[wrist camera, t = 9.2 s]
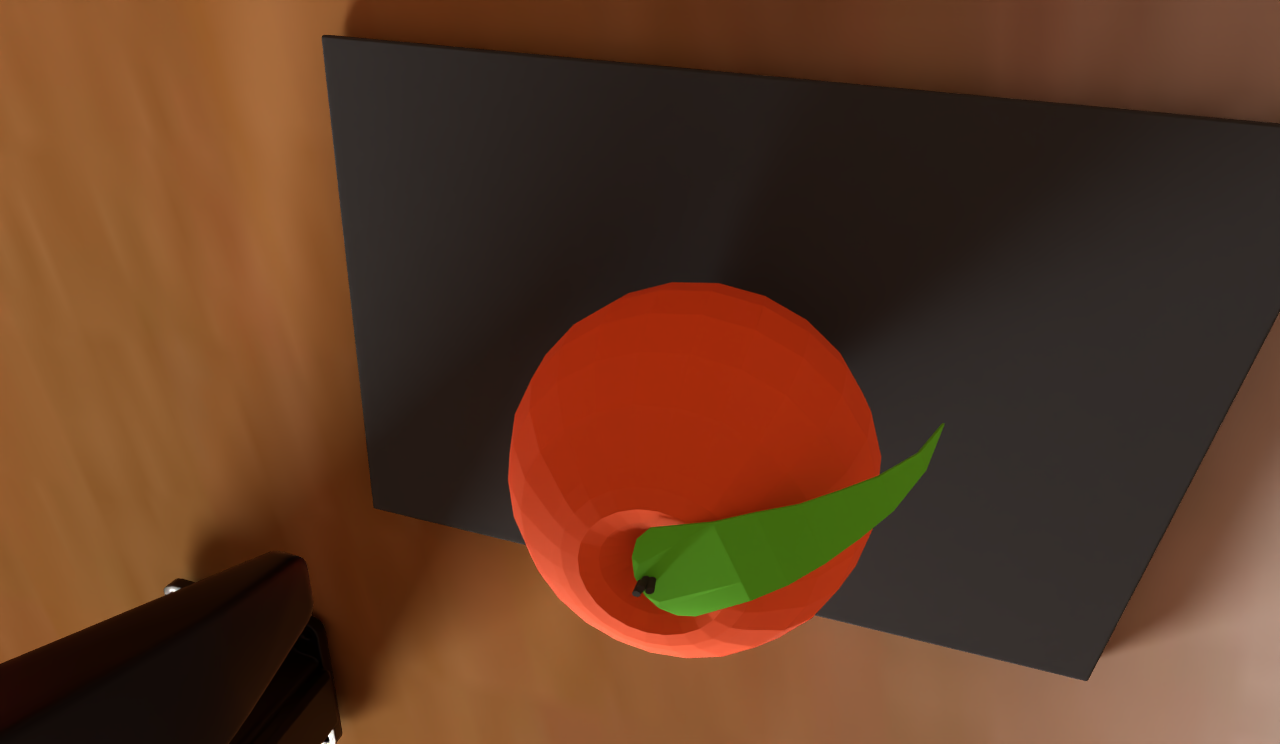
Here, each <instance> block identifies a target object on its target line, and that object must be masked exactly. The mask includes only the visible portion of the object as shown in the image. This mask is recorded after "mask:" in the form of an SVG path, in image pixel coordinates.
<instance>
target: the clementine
mask: <svg viewBox="0 0 1280 744" xmlns="http://www.w3.org/2000/svg"><path fill="white" fill-rule="evenodd" d="M944 424H945V423H942V424H941V425H940V426H939V428H938V429H937V430H936V431H935V432H934V434H933V435H932V436H931V437H930V438H929V439H928V441H927V442H926V443H925V444H924V445H923V447H922V448H921V449H920V450H919V451H918V453H916V454H914V455H913V456H911V457H909V458H907V459H906V460H904V461H902V462H901V463H899V464H897V465H895V466H894V467H892V468H890V469H889V470H887V471H885V472H883V473H882V474H880V465H881V453H880V449H879V444H878V440H877V435H876V431H875V426H874V422H873V417H872V413H871V410H870V408H869V406H868V404H867V401H866V399H865V397H864V395H863V392H862V391H861V389H860V387H859V385H858V384H857V382H856V380H855V378H854V376H853V375H852V373H851V371H850V369H849V368H848V366H847V364H846V362H845V361H844V359H843V357H842V355H841V353H840V352H839V351H838V350H837V349H836V348H835V347H834V346H833V345H832V344H831V343H830V342H829V341H828V340H827V339H826V338H825V337H824V336H822V335H821V334H820V333H819V332H818V331H817V330H816V329H815V328H814V327H813V326H812V325H811V324H810V323H809V322H808V321H807V320H806V319H804V318H802V317H801V316H799V315H797V314H796V313H794V312H792V311H790V310H789V309H787V308H785V307H783V306H782V305H780V304H778V303H776V302H775V301H773V300H771V299H769V298H768V297H766V296H763V295H760V294H756V293H753V292H749V291H745V290H742V289H738V288H734V287H731V286H727V285H724V284H720V283H684V282H671V283H667V284H663V285H659V286H655V287H651V288H647V289H643V290H639V291H635V292H631V293H628V294H626V295H624V296H623V297H621V298H619V299H617V300H615V301H614V302H612V303H610V304H608V305H607V306H605V307H603V308H601V309H600V310H598V311H596V312H595V313H593V314H591V315H589V316H588V317H586V318H584V319H582V320H581V321H579V322H577V323H575V324H574V325H573V326H572V327H571V328H570V329H569V330H568V331H567V332H566V333H565V334H564V336H563V337H562V338H561V339H560V340H559V341H558V342H557V343H556V344H555V345H554V346H553V347H552V348H551V350H550V351H549V352H548V353H547V354H546V355H545V356H544V358H543V360H542V362H541V363H540V365H539V367H538V368H537V370H536V372H535V374H534V375H533V377H532V379H531V381H530V383H529V385H528V387H527V390H526V392H525V394H524V396H523V398H522V400H521V402H520V404H519V407H518V409H517V411H516V413H515V417H514V424H513V432H512V439H511V447H510V455H509V473H508V483H509V489H510V496H511V502H512V509H513V515H514V518H515V521H516V523H517V525H518V528H519V530H520V532H521V534H522V537H523V539H524V541H525V543H526V546H527V548H528V550H529V552H530V555H531V557H532V559H533V561H534V563H535V565H536V567H537V569H538V571H539V573H540V574H541V575H542V577H543V578H544V579H545V581H546V582H547V583H548V585H549V586H550V587H551V589H552V590H553V591H554V593H555V594H556V595H557V597H558V598H559V599H560V600H561V601H562V602H563V603H565V604H566V605H567V606H568V607H569V608H570V609H571V610H573V611H574V612H575V613H576V614H577V615H578V616H579V617H581V618H582V619H583V620H584V621H585V622H587V623H588V624H590V625H592V626H593V627H595V628H597V629H599V630H600V631H602V632H604V633H605V634H607V635H609V636H610V637H612V638H614V639H616V640H618V641H620V642H623V643H626V644H629V645H632V646H634V647H637V648H640V649H643V650H645V651H648V652H651V653H657V654H664V655H670V656H676V657H683V658H701V657H722V656H726V655H729V654H733V653H737V652H740V651H744V650H747V649H751V648H755V647H757V646H760V645H762V644H765V643H767V642H769V641H772V640H774V639H777V638H779V637H781V636H782V635H784V634H786V633H787V632H789V631H791V630H792V629H794V628H796V627H798V626H799V625H801V624H803V623H804V622H806V621H808V620H810V619H811V618H812V617H813V616H814V615H815V614H816V613H817V612H818V611H819V610H820V609H821V608H822V607H823V606H824V605H825V603H826V602H827V601H828V600H829V599H830V598H831V597H832V596H833V595H834V594H835V593H836V592H837V591H838V589H839V588H840V587H841V585H842V584H843V583H844V581H845V580H846V578H847V577H848V576H849V574H850V573H851V572H852V570H853V569H854V568H855V566H856V564H857V562H858V560H859V558H860V556H861V553H862V551H863V549H864V547H865V545H866V542H867V540H868V538H869V536H870V534H871V532H872V529H873V528H874V527H875V526H876V525H877V524H879V523H880V522H881V521H882V520H883V519H885V518H886V517H887V516H888V515H889V514H891V513H892V512H893V511H894V510H895V509H896V508H897V506H898V505H899V504H900V503H901V501H902V500H903V499H904V498H905V496H906V495H907V494H908V493H909V491H910V490H911V489H912V488H913V486H914V485H915V484H916V483H917V481H918V480H919V479H920V478H921V476H922V475H923V474H924V473H925V471H926V470H927V467H928V465H929V462H930V460H931V457H932V455H933V452H934V450H935V447H936V445H937V442H938V440H939V437H940V435H941V432H942V429H943V427H944ZM879 474H880V475H879Z"/></svg>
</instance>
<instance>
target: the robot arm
mask: <svg viewBox="0 0 1280 744" xmlns="http://www.w3.org/2000/svg"><path fill="white" fill-rule="evenodd" d="M164 594H165V596H163V597H160V598H158V599H155V600H153V601H151V602H148V603H146V604H143V605H141V606H139V607H136V608H134V609H131V610H129V611H126V612H124V613H122V614H119V615H117V616H114V617H112V618H110V619H107V620H105V621H102V622H100V623H98V624H95V625H93V626H90V627H88V628H86V629H83V630H81V631H78V632H76V633H74V634H71V635H69V636H66V637H64V638H62V639H59V640H57V641H54V642H52V643H50V644H47V645H45V646H42V647H40V648H38V649H35V650H33V651H30V652H28V653H26V654H23V655H21V656H18V657H16V658H13V659H11V660H9V661H6V662H4V663H1V664H0V744H336V743H337V741H338V740H339V739H340V737H341V736H342V728H341V722H340V716H339V710H338V704H337V698H336V692H335V686H334V680H333V674H332V668H331V661H330V655H329V649H328V643H327V637H326V631H325V627H324V625H323V624H322V622H321V621H320V620H319V619H317V618H316V617H314V616H311V614H312V611H313V597H312V591H311V585H310V579H309V573H308V568H307V564H306V562H305V561H304V559H303V558H301V557H299V556H296V555H292V554H288V553H284V552H280V551H273V552H269V553H266V554H263V555H261V556H259V557H256V558H254V559H251V560H249V561H247V562H244V563H242V564H239V565H237V566H235V567H232V568H230V569H227V570H225V571H223V572H220V573H218V574H215V575H213V576H211V577H208V578H206V579H203V580H201V581H199V582H196V583H195V582H191V581H188V580H184V579H179V578H178V579H175V580H174V581H172V582H171V583H170V584H169V585H167V586H166V587H165V589H164Z"/></svg>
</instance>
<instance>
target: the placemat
mask: <svg viewBox="0 0 1280 744" xmlns="http://www.w3.org/2000/svg"><path fill="white" fill-rule="evenodd" d="M322 45H323V54H324V63H325V72H326V81H327V90H328V99H329V108H330V117H331V126H332V135H333V144H334V153H335V162H336V171H337V180H338V189H339V198H340V208H341V217H342V226H343V235H344V244H345V253H346V262H347V271H348V280H349V289H350V298H351V307H352V316H353V325H354V334H355V343H356V352H357V361H358V370H359V379H360V388H361V398H362V407H363V416H364V425H365V434H366V443H367V452H368V461H369V470H370V479H371V488H372V497H373V506H374V508H376V509H380V510H384V511H388V512H392V513H396V514H400V515H405V516H409V517H413V518H417V519H421V520H425V521H429V522H433V523H438V524H442V525H446V526H450V527H454V528H458V529H462V530H466V531H470V532H475V533H479V534H483V535H487V536H491V537H495V538H499V539H503V540H507V541H512V542H516V543H520V544H524V545H526V543H525V541H524V539H523V537H522V534H521V532H520V530H519V528H518V525H517V523H516V521H515V518H514V515H513V509H512V502H511V496H510V489H509V483H508V473H509V455H510V447H511V439H512V432H513V424H514V417H515V413H516V411H517V409H518V407H519V404H520V402H521V400H522V398H523V396H524V394H525V392H526V390H527V387H528V385H529V383H530V381H531V379H532V377H533V375H534V374H535V372H536V370H537V368H538V367H539V365H540V363H541V362H542V360H543V358H544V356H545V355H546V354H547V353H548V352H549V351H550V350H551V348H552V347H553V346H554V345H555V344H556V343H557V342H558V341H559V340H560V339H561V338H562V337H563V336H564V334H565V333H566V332H567V331H568V330H569V329H570V328H571V327H572V326H573V325H574V324H575V323H577V322H579V321H581V320H582V319H584V318H586V317H588V316H589V315H591V314H593V313H595V312H596V311H598V310H600V309H601V308H603V307H605V306H607V305H608V304H610V303H612V302H614V301H615V300H617V299H619V298H621V297H623V296H624V295H626V294H628V293H631V292H635V291H639V290H643V289H647V288H651V287H655V286H659V285H663V284H667V283H671V282H684V283H720V284H724V285H727V286H731V287H734V288H738V289H742V290H745V291H749V292H753V293H756V294H760V295H763V296H766V297H768V298H769V299H771V300H773V301H775V302H776V303H778V304H780V305H782V306H783V307H785V308H787V309H789V310H790V311H792V312H794V313H796V314H797V315H799V316H801V317H802V318H804V319H806V320H807V321H808V322H809V323H810V324H811V325H812V326H813V327H814V328H815V329H816V330H817V331H818V332H819V333H820V334H821V335H822V336H824V337H825V338H826V339H827V340H828V341H829V342H830V343H831V344H832V345H833V346H834V347H835V348H836V349H837V350H838V351H839V352H840V353H841V355H842V357H843V359H844V361H845V362H846V364H847V366H848V368H849V369H850V371H851V373H852V375H853V376H854V378H855V380H856V382H857V384H858V385H859V387H860V389H861V391H862V392H863V395H864V397H865V399H866V401H867V404H868V406H869V408H870V410H871V413H872V417H873V422H874V426H875V431H876V435H877V440H878V444H879V449H880V453H881V465H880V474H882V473H883V472H885V471H887V470H889V469H890V468H892V467H894V466H895V465H897V464H899V463H901V462H902V461H904V460H906V459H907V458H909V457H911V456H913V455H914V454H916V453H918V451H919V450H920V449H921V448H922V447H923V445H924V444H925V443H926V442H927V441H928V439H929V438H930V437H931V436H932V435H933V434H934V432H935V431H936V430H937V429H938V428H939V426H940V425H941V424H942V423H945V424H944V427H943V429H942V432H941V435H940V437H939V440H938V442H937V445H936V447H935V450H934V452H933V455H932V457H931V460H930V462H929V465H928V467H927V470H926V471H925V473H924V474H923V475H922V476H921V478H920V479H919V480H918V481H917V483H916V484H915V485H914V486H913V488H912V489H911V490H910V491H909V493H908V494H907V495H906V496H905V498H904V499H903V500H902V501H901V503H900V504H899V505H898V506H897V508H896V509H895V510H894V511H893V512H892V513H891V514H889V515H888V516H887V517H886V518H885V519H883V520H882V521H881V522H880V523H879V524H877V525H876V526H875V527H874V528H873V529H872V532H871V534H870V536H869V538H868V540H867V542H866V545H865V547H864V549H863V551H862V553H861V556H860V558H859V560H858V562H857V564H856V566H855V568H854V569H853V570H852V572H851V573H850V574H849V576H848V577H847V578H846V580H845V581H844V583H843V584H842V585H841V587H840V588H839V589H838V591H837V592H836V593H835V594H834V595H833V596H832V597H831V598H830V599H829V600H828V601H827V602H826V603H825V605H824V606H823V607H822V608H821V609H820V610H819V611H818V612H817V613H816V614H815V615H816V616H820V617H824V618H828V619H833V620H837V621H841V622H845V623H849V624H853V625H857V626H861V627H866V628H870V629H874V630H878V631H882V632H886V633H890V634H894V635H898V636H903V637H907V638H911V639H915V640H919V641H923V642H927V643H931V644H935V645H940V646H944V647H948V648H952V649H956V650H960V651H964V652H968V653H973V654H977V655H981V656H985V657H989V658H993V659H997V660H1001V661H1005V662H1010V663H1014V664H1018V665H1022V666H1026V667H1030V668H1034V669H1038V670H1042V671H1047V672H1051V673H1055V674H1059V675H1063V676H1067V677H1071V678H1075V679H1080V680H1084V681H1087V680H1088V679H1089V677H1090V675H1091V673H1092V671H1093V670H1094V668H1095V666H1096V664H1097V662H1098V660H1099V658H1100V656H1101V654H1102V652H1103V650H1104V648H1105V646H1106V645H1107V643H1108V641H1109V639H1110V637H1111V635H1112V633H1113V631H1114V629H1115V627H1116V625H1117V623H1118V621H1119V620H1120V618H1121V616H1122V614H1123V612H1124V610H1125V608H1126V606H1127V604H1128V602H1129V600H1130V598H1131V596H1132V595H1133V593H1134V591H1135V589H1136V587H1137V585H1138V583H1139V581H1140V579H1141V577H1142V575H1143V573H1144V572H1145V570H1146V568H1147V566H1148V564H1149V562H1150V560H1151V558H1152V556H1153V554H1154V552H1155V550H1156V548H1157V547H1158V545H1159V543H1160V541H1161V539H1162V537H1163V535H1164V533H1165V531H1166V529H1167V527H1168V525H1169V523H1170V522H1171V520H1172V518H1173V516H1174V514H1175V512H1176V510H1177V508H1178V506H1179V504H1180V502H1181V500H1182V498H1183V497H1184V495H1185V493H1186V491H1187V489H1188V487H1189V485H1190V483H1191V481H1192V479H1193V477H1194V475H1195V474H1196V472H1197V470H1198V468H1199V466H1200V464H1201V462H1202V460H1203V458H1204V456H1205V454H1206V452H1207V450H1208V449H1209V447H1210V445H1211V443H1212V441H1213V439H1214V437H1215V435H1216V433H1217V431H1218V429H1219V427H1220V425H1221V424H1222V422H1223V420H1224V418H1225V416H1226V414H1227V412H1228V410H1229V408H1230V406H1231V404H1232V402H1233V400H1234V399H1235V397H1236V395H1237V393H1238V391H1239V389H1240V387H1241V385H1242V383H1243V381H1244V379H1245V377H1246V376H1247V374H1248V372H1249V370H1250V368H1251V366H1252V364H1253V362H1254V360H1255V358H1256V356H1257V354H1258V352H1259V351H1260V349H1261V347H1262V345H1263V343H1264V341H1265V339H1266V337H1267V335H1268V333H1269V331H1270V329H1271V327H1272V326H1273V324H1274V322H1275V320H1276V318H1277V316H1278V314H1279V312H1280V124H1278V123H1268V122H1257V121H1246V120H1236V119H1225V118H1214V117H1203V116H1193V115H1182V114H1171V113H1161V112H1150V111H1139V110H1128V109H1118V108H1107V107H1096V106H1086V105H1075V104H1064V103H1053V102H1043V101H1032V100H1021V99H1011V98H1000V97H989V96H978V95H968V94H957V93H946V92H935V91H925V90H914V89H903V88H893V87H882V86H871V85H860V84H850V83H839V82H828V81H818V80H807V79H796V78H785V77H775V76H764V75H753V74H743V73H732V72H721V71H710V70H700V69H689V68H678V67H667V66H657V65H646V64H635V63H625V62H614V61H603V60H592V59H582V58H571V57H560V56H550V55H539V54H528V53H517V52H507V51H496V50H485V49H475V48H464V47H453V46H442V45H432V44H421V43H410V42H399V41H389V40H378V39H367V38H357V37H346V36H335V35H323V36H322ZM880 474H879V475H880Z"/></svg>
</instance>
